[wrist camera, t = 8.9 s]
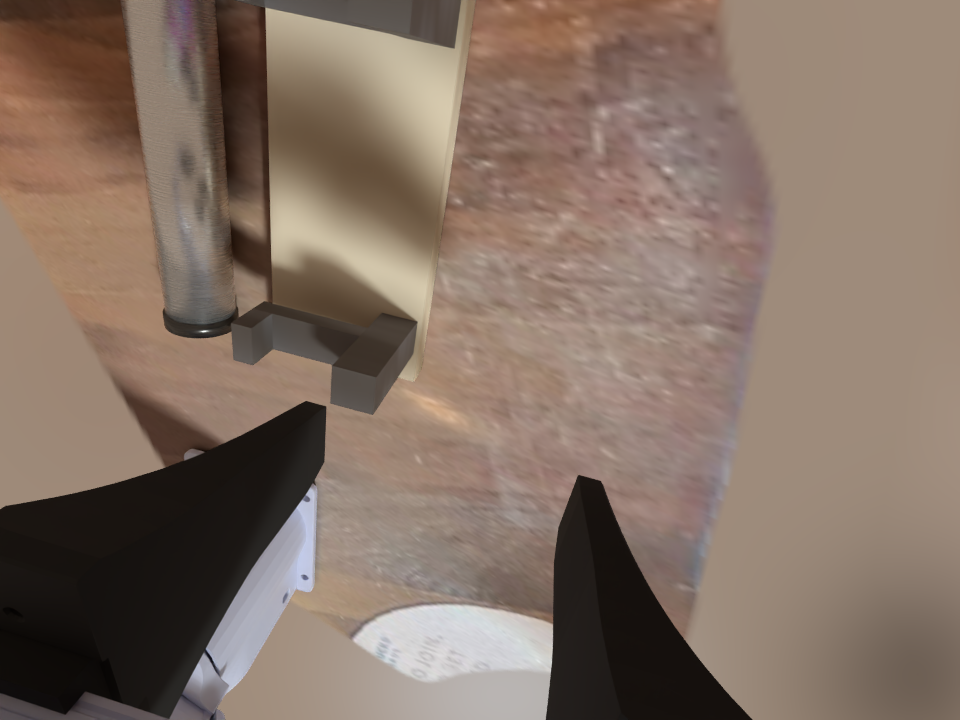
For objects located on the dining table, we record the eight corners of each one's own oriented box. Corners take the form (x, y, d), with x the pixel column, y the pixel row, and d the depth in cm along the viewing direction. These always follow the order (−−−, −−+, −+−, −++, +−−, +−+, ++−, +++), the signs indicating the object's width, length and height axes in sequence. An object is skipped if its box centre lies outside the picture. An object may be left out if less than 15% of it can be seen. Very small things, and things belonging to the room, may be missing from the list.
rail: (253, 320, 24) (203, 345, 22) (201, 302, 25) (147, 324, 22) (233, -83, 17) (154, -118, 14) (161, -95, 17) (72, -130, 15)
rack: (421, 369, 24) (375, 446, 19) (286, 333, 24) (204, 399, 19) (484, -57, 16) (434, -129, 11) (283, -96, 16) (142, -182, 11)
